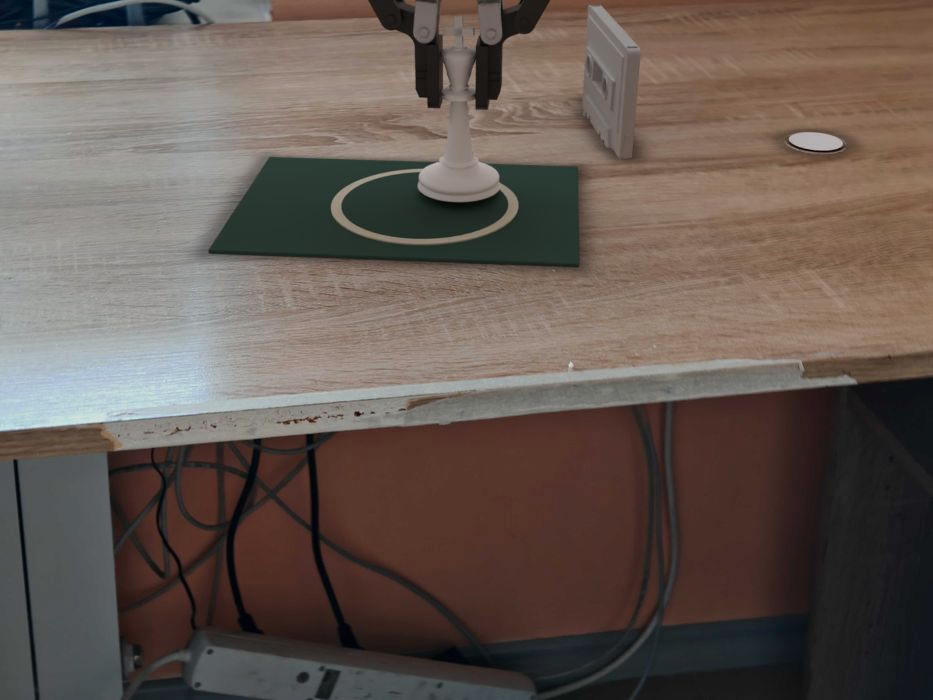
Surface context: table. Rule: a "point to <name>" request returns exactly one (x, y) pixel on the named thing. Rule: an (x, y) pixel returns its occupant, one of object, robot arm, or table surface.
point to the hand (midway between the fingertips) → (459, 103)
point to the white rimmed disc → (815, 142)
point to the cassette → (610, 81)
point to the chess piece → (458, 132)
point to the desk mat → (403, 215)
